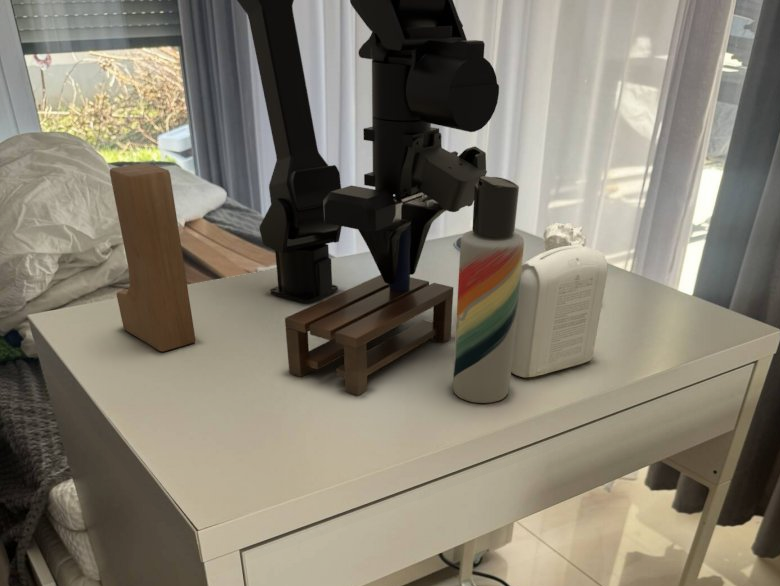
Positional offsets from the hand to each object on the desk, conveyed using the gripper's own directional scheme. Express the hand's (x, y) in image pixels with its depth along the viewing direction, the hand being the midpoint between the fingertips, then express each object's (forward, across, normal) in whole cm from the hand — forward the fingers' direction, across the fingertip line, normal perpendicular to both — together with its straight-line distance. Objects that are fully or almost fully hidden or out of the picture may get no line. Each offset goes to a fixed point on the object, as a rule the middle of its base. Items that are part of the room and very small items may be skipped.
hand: (399, 278), depth 84 cm
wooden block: (+7, -15, +23) cm, 28 cm away
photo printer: (+7, +4, -17) cm, 19 cm away
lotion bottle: (+7, -6, -14) cm, 17 cm away
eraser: (+1, 0, 0) cm, 1 cm away
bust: (+7, +20, -11) cm, 24 cm away
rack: (+7, -5, 0) cm, 9 cm away
